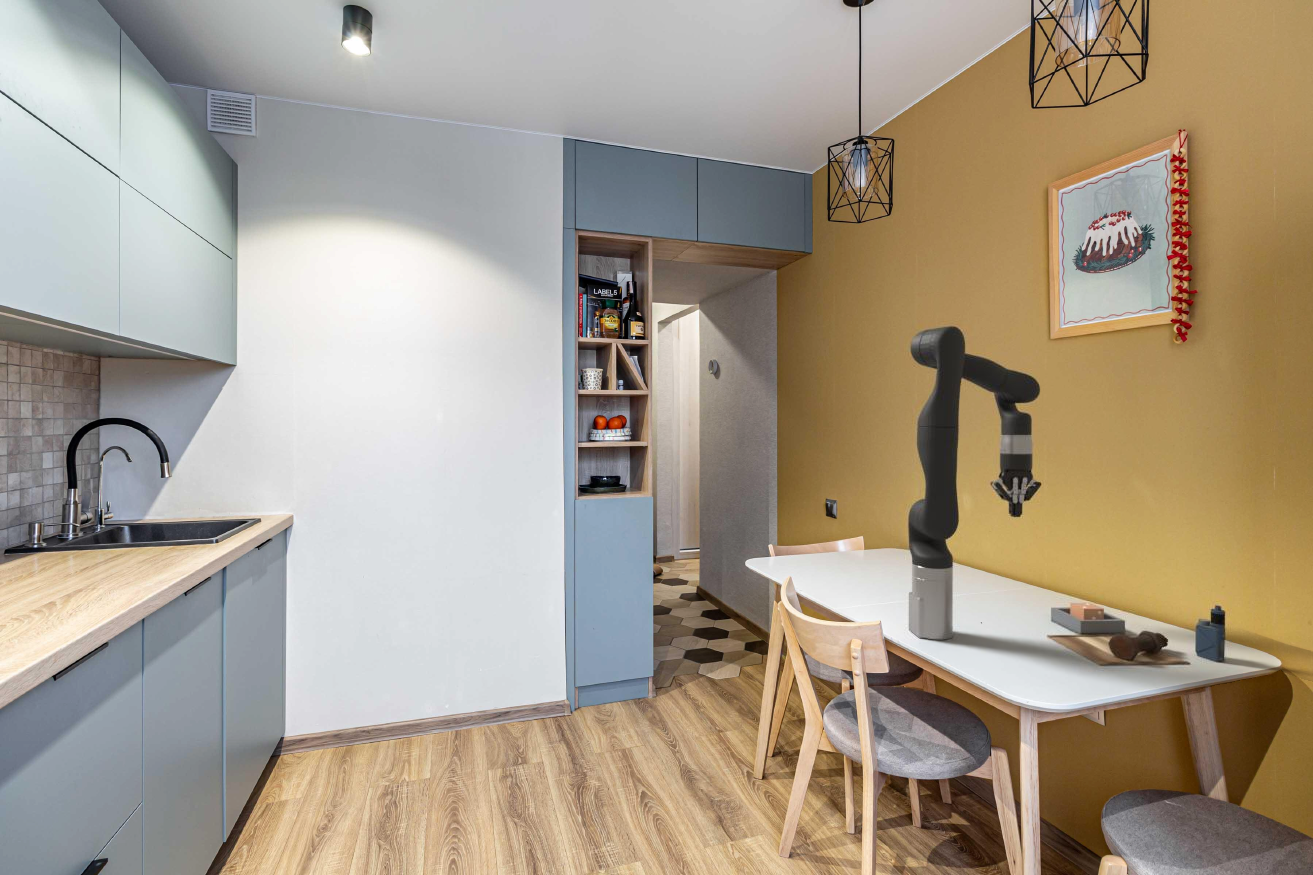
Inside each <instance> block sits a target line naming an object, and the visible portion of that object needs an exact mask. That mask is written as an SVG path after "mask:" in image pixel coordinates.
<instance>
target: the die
mask: <svg viewBox="0 0 1313 875" xmlns="http://www.w3.org/2000/svg"><path fill="white" fill-rule="evenodd" d="M1069 607H1070V615H1072V616H1074V617H1077V618H1079V619H1081V620H1104V612H1105V608H1103V607H1101V606H1099V605H1096V604H1094V603H1092V602H1070V606H1069Z"/></svg>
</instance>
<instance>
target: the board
mask: <svg viewBox="0 0 1313 875" xmlns="http://www.w3.org/2000/svg"><path fill="white" fill-rule="evenodd" d="M1114 635H1115V634H1101V635H1079V634H1047V635H1046V637H1047V638H1048V639H1049V640H1052V641H1054V642H1056V643H1058V644H1060V645H1062V646H1064V647H1065V648H1067V649H1069V650H1071V651H1072V652H1074V653H1075V654H1079V655H1081V656H1083V657H1084V658H1085V659H1087V660H1089V661H1091V662H1093V663H1094V664H1097V665H1099V666H1140V665H1141V666H1143V665H1144V666H1146V665H1147V666H1152V665H1156V666H1157V665H1161V666H1162V665H1190V664H1191V663H1190V661H1187V660H1183V659H1181V658H1178V657H1177V656H1174V655H1172V654H1170V653H1168V652H1165V651H1163V650H1162V649H1161V650H1160V651H1159V652H1158V653H1155V654H1153V653H1149V652H1145V651H1143V652H1139V653H1138V655H1137V656H1136V657H1135V658H1134V659H1133V660H1132V661H1126V660H1122V659H1120V658H1117V657H1115V656H1114V655H1113V653H1112V652H1111V650H1110V648H1109V644H1108V643H1109V641H1110V639H1111V638H1112V637H1113V636H1114ZM1123 635H1126V636H1129V634H1126V633H1125V634H1123Z"/></svg>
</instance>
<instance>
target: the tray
mask: <svg viewBox="0 0 1313 875" xmlns="http://www.w3.org/2000/svg"><path fill="white" fill-rule="evenodd" d="M1050 622H1052V623H1054V624H1056V625H1059V626H1061V627H1062V628H1064V629H1067V630H1069V631H1071V632H1073V633H1074V634H1076V635H1101V634H1118V633H1119V634H1126V620H1125V619H1122V618H1120V617H1118V616H1115V615H1113V614H1110V613H1108V612H1105V611H1104V620H1081V619H1079V618H1077V617H1074V616H1072V615H1070V606H1069V607H1051V608H1050Z"/></svg>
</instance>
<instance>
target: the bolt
mask: <svg viewBox="0 0 1313 875" xmlns="http://www.w3.org/2000/svg"><path fill="white" fill-rule="evenodd" d="M1168 643H1169V639H1168V638H1167V637H1166V636H1165V635H1163V634H1162V633H1159V632H1152V631H1149V630H1142V631H1141V632H1140V633H1139V634H1138V635H1137V636H1126V635H1123V634H1119V633H1118V634H1115V635H1114V636H1113V637H1112V638H1111V639H1110V641H1109V643H1108V644H1109V648H1110V650H1111V652H1112V653H1113V655H1114V656H1115V657H1117V658H1120V659H1122V660H1126V661H1132V660H1133V659H1134V658H1135V657H1136V656H1137V655H1138V653H1139V652H1143V651H1145V652H1149V653H1153V654H1155V653H1158V652H1159V651H1160V650H1161V651H1162V649H1163V648H1166V647H1167V646H1168V645H1169V644H1168Z"/></svg>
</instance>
